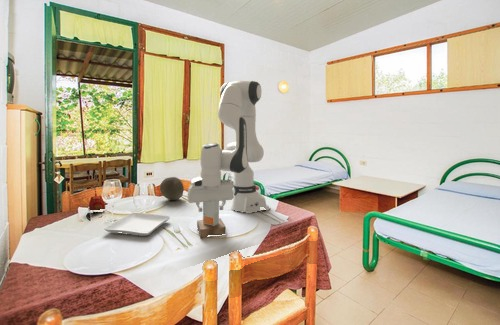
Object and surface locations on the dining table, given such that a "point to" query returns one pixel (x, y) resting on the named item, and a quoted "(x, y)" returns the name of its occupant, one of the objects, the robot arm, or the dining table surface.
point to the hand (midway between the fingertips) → (210, 210)
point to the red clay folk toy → (96, 202)
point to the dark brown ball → (172, 188)
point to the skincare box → (211, 212)
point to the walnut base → (210, 229)
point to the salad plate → (137, 224)
